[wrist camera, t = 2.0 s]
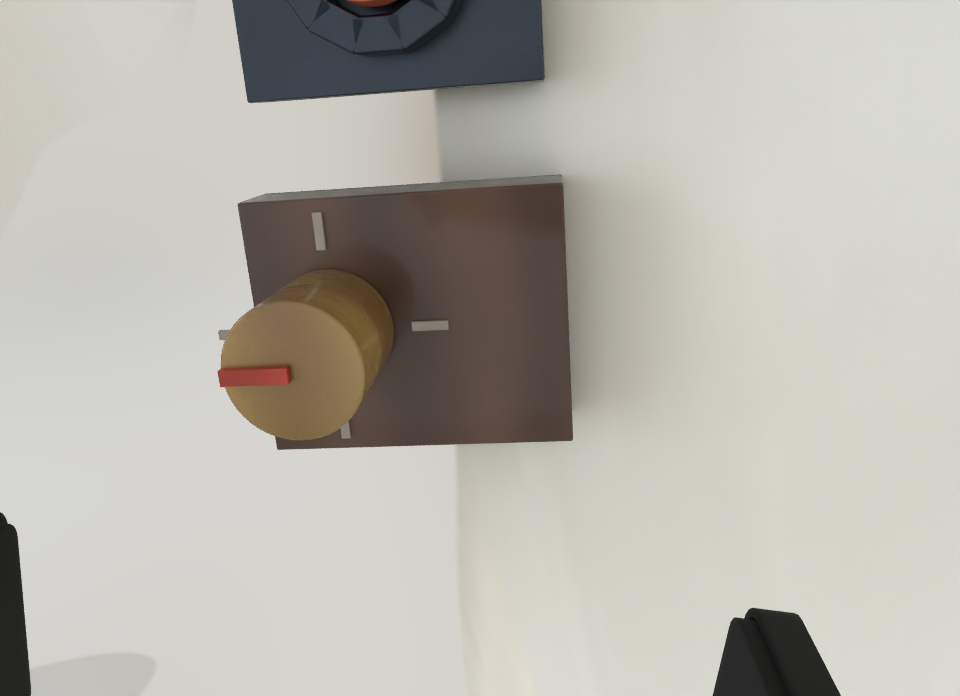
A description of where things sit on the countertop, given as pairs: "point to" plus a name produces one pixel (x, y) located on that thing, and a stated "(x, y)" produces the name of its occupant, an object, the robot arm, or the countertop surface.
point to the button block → (385, 46)
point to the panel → (438, 302)
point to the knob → (307, 354)
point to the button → (371, 2)
